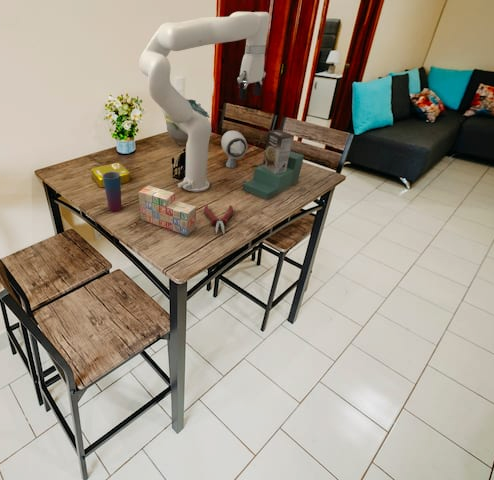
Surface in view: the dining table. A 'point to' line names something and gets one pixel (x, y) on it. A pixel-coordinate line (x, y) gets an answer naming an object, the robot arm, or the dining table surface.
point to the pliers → (216, 221)
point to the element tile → (116, 167)
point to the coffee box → (277, 151)
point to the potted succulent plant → (176, 131)
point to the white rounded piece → (234, 146)
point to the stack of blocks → (166, 210)
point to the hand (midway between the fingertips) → (249, 97)
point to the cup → (113, 190)
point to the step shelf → (274, 178)
